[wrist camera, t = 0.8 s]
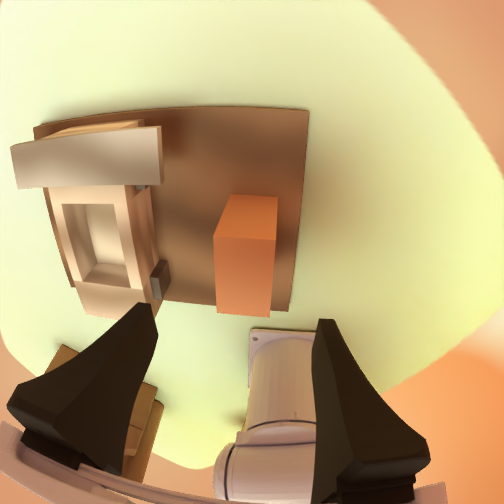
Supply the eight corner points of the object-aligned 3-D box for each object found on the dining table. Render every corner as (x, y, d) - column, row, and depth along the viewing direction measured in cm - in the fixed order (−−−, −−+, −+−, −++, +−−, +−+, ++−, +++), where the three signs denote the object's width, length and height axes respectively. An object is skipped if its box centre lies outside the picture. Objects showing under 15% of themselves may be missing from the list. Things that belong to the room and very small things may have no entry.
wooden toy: (65, 368, 36) (0, 509, 15) (61, 343, 33) (-19, 504, 12) (162, 411, 38) (120, 567, 17) (170, 392, 35) (121, 574, 14)
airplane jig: (288, 303, 25) (287, 350, 21) (76, 280, 26) (49, 315, 22) (307, 110, 17) (316, 121, 13) (40, 124, 18) (-4, 142, 14)
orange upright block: (273, 263, 22) (269, 317, 17) (230, 260, 22) (216, 312, 18) (278, 196, 19) (275, 240, 15) (230, 194, 20) (212, 235, 15)
